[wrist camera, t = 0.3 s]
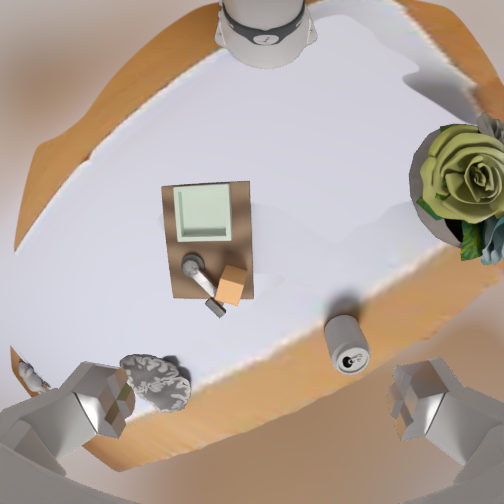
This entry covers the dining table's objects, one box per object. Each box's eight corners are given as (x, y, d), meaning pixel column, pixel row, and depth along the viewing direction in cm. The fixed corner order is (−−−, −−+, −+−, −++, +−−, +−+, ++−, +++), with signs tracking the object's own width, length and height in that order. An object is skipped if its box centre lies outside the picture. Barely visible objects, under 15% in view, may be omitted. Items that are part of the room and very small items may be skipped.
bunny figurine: (17, 361, 67) (46, 396, 68) (26, 355, 72) (54, 389, 73) (13, 373, 69) (40, 405, 70) (22, 366, 74) (49, 398, 75)
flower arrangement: (482, 134, 44) (562, 133, 21) (470, 246, 51) (543, 287, 28) (385, 106, 45) (457, 75, 22) (375, 236, 53) (438, 286, 29)
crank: (181, 266, 54) (171, 277, 49) (191, 256, 53) (183, 266, 48) (221, 306, 56) (216, 320, 50) (232, 297, 55) (228, 310, 50)
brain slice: (209, 393, 67) (207, 401, 64) (161, 408, 70) (158, 416, 67) (160, 335, 62) (156, 342, 60) (114, 357, 66) (109, 363, 63)
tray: (177, 186, 51) (173, 187, 49) (230, 183, 50) (228, 184, 48) (181, 238, 54) (177, 241, 51) (233, 237, 53) (231, 240, 51)
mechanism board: (164, 186, 53) (159, 187, 50) (249, 181, 51) (248, 181, 49) (175, 295, 59) (171, 300, 56) (253, 295, 58) (253, 301, 55)
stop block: (221, 283, 56) (214, 299, 49) (226, 264, 55) (220, 278, 48) (241, 289, 56) (237, 306, 49) (247, 270, 55) (244, 285, 48)
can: (318, 321, 58) (327, 355, 47) (352, 307, 57) (368, 338, 46) (329, 347, 60) (339, 383, 49) (361, 334, 59) (376, 368, 47)
